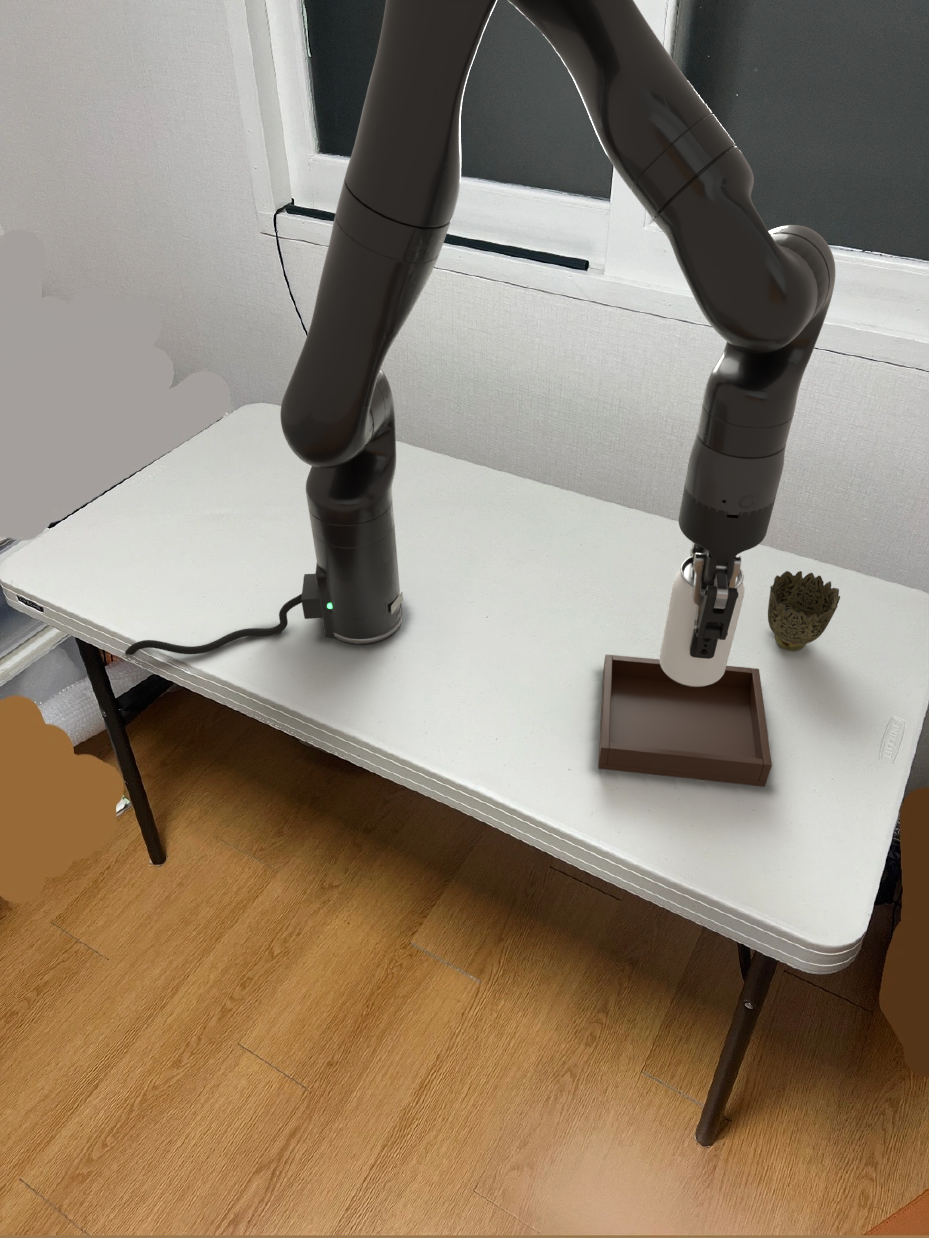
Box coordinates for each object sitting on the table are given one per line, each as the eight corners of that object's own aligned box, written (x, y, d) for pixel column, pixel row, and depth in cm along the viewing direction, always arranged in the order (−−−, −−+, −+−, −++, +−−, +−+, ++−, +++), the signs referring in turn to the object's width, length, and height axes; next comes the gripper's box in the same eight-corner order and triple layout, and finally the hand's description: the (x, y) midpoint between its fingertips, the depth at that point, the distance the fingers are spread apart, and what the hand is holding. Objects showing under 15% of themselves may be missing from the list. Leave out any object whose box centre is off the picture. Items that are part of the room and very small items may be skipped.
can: (724, 693, 86) (749, 599, 78) (657, 684, 87) (674, 590, 79) (724, 648, 91) (747, 555, 83) (659, 640, 92) (676, 547, 84)
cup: (811, 673, 101) (830, 621, 96) (748, 650, 104) (762, 598, 98) (829, 635, 106) (848, 583, 100) (768, 614, 108) (783, 562, 103)
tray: (598, 768, 91) (600, 747, 89) (602, 675, 101) (605, 654, 99) (765, 786, 89) (772, 765, 87) (753, 689, 99) (759, 668, 97)
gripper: (682, 437, 81) (658, 580, 92) (688, 530, 70) (660, 679, 81) (768, 442, 80) (733, 586, 91) (787, 537, 69) (745, 687, 80)
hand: (699, 630), depth 86 cm, fingers closed on can, 6 cm apart
